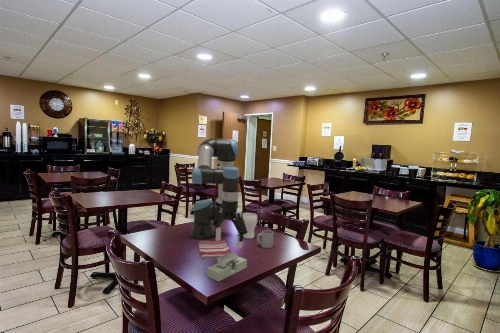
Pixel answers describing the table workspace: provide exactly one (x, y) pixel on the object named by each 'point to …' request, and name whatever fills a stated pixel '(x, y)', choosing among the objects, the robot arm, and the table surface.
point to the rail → (226, 269)
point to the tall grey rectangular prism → (227, 260)
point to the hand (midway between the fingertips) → (228, 244)
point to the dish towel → (213, 249)
